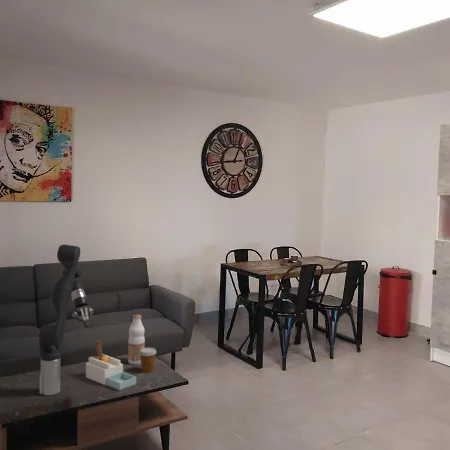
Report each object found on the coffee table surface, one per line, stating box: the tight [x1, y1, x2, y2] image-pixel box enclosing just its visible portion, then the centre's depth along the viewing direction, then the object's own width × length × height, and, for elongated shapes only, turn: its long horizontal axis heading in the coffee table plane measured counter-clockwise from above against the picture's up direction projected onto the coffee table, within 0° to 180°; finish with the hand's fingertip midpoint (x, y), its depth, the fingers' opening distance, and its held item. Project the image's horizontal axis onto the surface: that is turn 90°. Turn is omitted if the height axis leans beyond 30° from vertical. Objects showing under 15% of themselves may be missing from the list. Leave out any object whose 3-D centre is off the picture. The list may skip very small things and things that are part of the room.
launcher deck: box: [85, 353, 124, 386], centre depth 265 cm, size 12×16×10 cm
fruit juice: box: [127, 314, 146, 366], centre depth 290 cm, size 9×9×28 cm
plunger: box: [93, 339, 106, 361], centre depth 267 cm, size 5×4×11 cm
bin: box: [105, 371, 137, 391], centre depth 257 cm, size 11×11×4 cm
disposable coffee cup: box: [139, 347, 157, 374], centre depth 277 cm, size 10×10×12 cm
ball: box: [101, 355, 108, 363], centre depth 265 cm, size 4×4×4 cm
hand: (87, 327), depth 273 cm, fingers closed
